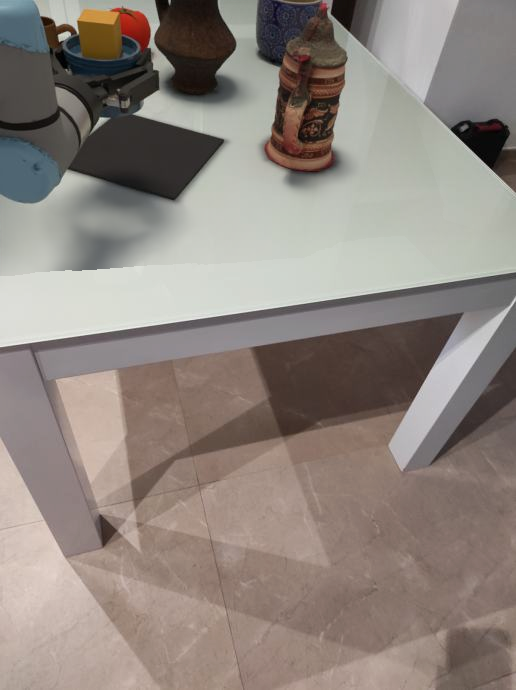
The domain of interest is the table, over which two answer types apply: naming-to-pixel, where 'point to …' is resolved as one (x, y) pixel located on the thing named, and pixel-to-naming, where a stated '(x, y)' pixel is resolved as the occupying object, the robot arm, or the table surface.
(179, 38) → the jug
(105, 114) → the blue paint bucket
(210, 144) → the mat
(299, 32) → the planter
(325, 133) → the beer stein
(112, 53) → the block
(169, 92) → the table surface
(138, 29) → the tomato
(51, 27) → the mug
